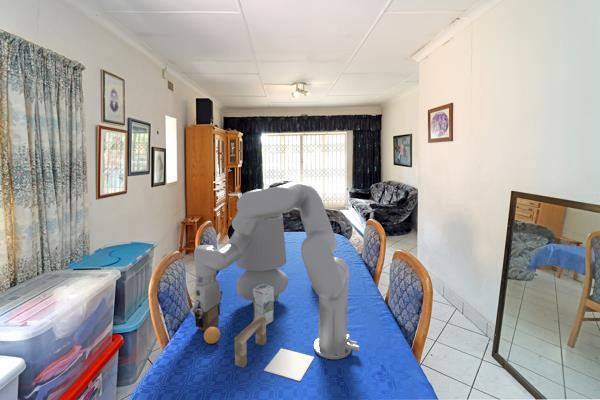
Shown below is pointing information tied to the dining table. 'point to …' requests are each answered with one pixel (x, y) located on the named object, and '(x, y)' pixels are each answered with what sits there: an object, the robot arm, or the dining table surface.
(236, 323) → the dining table surface
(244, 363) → the bridge
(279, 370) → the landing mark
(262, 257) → the table lamp
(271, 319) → the syrup box
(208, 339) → the ball
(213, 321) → the brown block
